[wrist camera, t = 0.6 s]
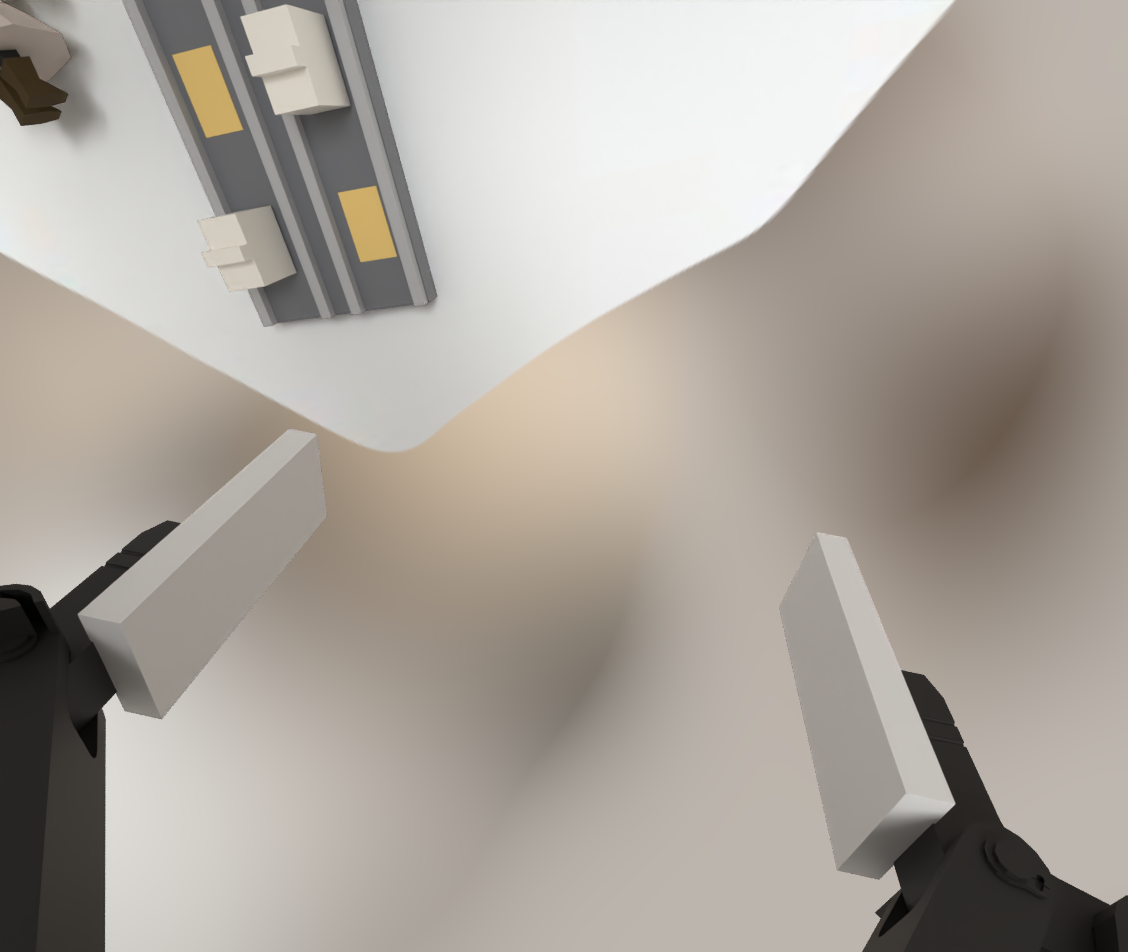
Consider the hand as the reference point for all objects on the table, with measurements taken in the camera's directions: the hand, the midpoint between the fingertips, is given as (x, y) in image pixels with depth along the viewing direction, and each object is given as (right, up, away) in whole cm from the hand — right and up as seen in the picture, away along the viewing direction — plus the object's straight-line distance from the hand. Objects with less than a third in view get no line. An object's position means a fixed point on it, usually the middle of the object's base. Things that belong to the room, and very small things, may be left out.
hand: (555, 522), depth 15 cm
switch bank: (-15, +20, +20) cm, 32 cm away
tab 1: (-13, +23, +16) cm, 31 cm away
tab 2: (-19, +16, +21) cm, 32 cm away
